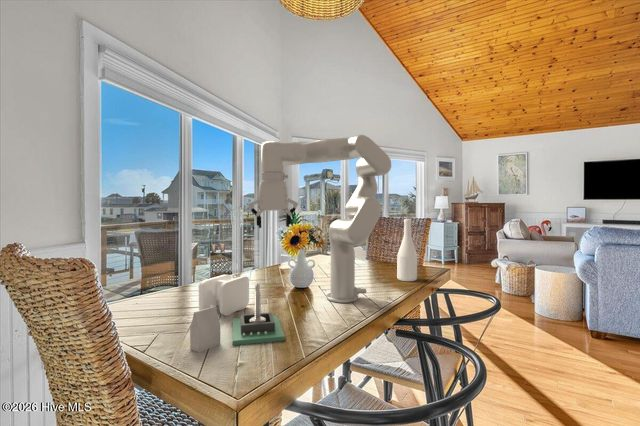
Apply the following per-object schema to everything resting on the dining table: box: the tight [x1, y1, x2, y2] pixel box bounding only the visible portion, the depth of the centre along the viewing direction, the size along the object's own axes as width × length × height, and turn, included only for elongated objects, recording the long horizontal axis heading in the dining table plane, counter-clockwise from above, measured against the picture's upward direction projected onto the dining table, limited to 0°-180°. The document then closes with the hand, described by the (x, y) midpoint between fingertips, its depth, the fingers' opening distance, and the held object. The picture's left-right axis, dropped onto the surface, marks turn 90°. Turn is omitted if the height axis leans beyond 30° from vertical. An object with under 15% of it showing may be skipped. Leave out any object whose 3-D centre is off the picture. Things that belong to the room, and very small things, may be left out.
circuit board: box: [232, 312, 286, 346], centre depth 104 cm, size 14×18×4 cm
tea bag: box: [189, 306, 221, 353], centre depth 93 cm, size 4×7×10 cm, turn 145°
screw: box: [249, 283, 266, 323], centre depth 104 cm, size 13×5×5 cm
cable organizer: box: [198, 274, 250, 317], centre depth 123 cm, size 15×11×12 cm
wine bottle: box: [396, 218, 418, 282], centre depth 172 cm, size 10×10×30 cm
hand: (273, 227), depth 122 cm, fingers open, 9 cm apart
